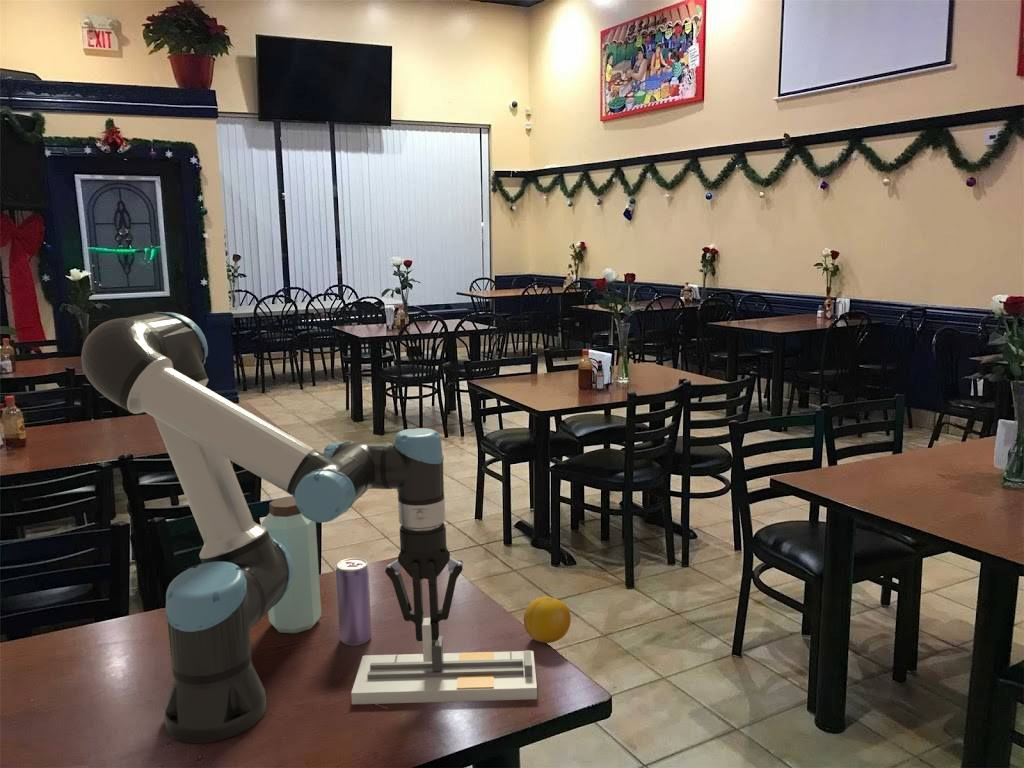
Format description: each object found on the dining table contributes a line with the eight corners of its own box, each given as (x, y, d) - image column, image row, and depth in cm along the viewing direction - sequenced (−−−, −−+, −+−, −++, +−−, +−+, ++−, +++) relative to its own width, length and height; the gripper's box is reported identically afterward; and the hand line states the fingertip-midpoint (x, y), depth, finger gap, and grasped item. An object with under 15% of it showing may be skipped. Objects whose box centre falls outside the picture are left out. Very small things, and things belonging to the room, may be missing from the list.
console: (351, 704, 131) (350, 681, 130) (363, 666, 143) (362, 644, 142) (537, 699, 131) (536, 676, 131) (533, 661, 143) (533, 640, 142)
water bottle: (332, 619, 161) (325, 498, 156) (294, 640, 152) (285, 513, 148) (297, 608, 166) (289, 490, 161) (258, 627, 158) (248, 504, 153)
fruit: (539, 624, 157) (538, 586, 155) (577, 634, 153) (576, 594, 151) (516, 644, 149) (516, 603, 148) (555, 654, 145) (555, 613, 144)
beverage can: (365, 648, 149) (360, 571, 146) (334, 645, 150) (330, 569, 148) (376, 632, 155) (373, 558, 152) (347, 630, 156) (343, 556, 153)
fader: (432, 676, 135) (431, 645, 134) (434, 665, 138) (433, 635, 137) (442, 676, 135) (441, 645, 134) (443, 665, 138) (442, 634, 137)
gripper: (379, 532, 128) (386, 670, 132) (461, 530, 128) (466, 667, 132) (385, 517, 136) (392, 647, 140) (463, 514, 136) (468, 645, 140)
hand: (428, 657), depth 136 cm, fingers closed
